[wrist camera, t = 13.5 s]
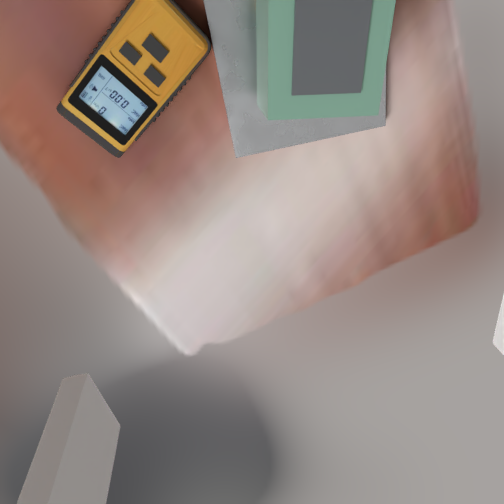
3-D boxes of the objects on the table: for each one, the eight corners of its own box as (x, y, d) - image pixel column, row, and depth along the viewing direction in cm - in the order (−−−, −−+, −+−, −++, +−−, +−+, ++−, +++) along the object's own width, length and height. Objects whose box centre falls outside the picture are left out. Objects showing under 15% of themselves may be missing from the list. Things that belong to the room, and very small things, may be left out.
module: (255, -43, 33) (269, -56, 27) (368, -43, 34) (406, -56, 28) (256, 104, 39) (268, 121, 33) (351, 100, 40) (379, 116, 34)
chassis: (186, -83, 34) (185, -95, 31) (382, -124, 34) (404, -140, 31) (235, 154, 46) (238, 166, 42) (381, 123, 46) (396, 132, 43)
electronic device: (215, 45, 40) (218, 47, 37) (125, 153, 45) (121, 163, 42) (150, -25, 36) (147, -29, 34) (58, 101, 41) (49, 107, 38)
